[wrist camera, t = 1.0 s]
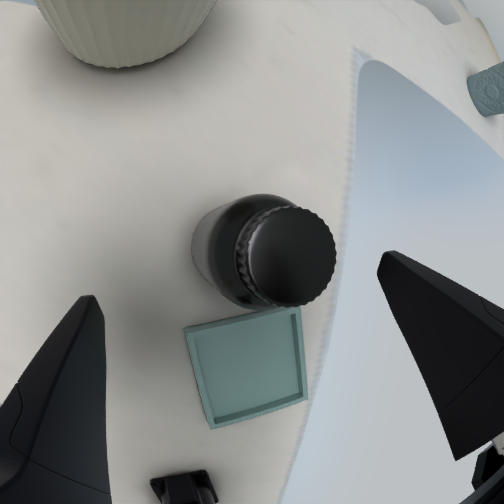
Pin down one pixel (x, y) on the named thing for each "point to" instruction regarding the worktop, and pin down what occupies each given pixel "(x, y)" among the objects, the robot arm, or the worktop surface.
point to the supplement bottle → (264, 252)
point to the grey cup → (488, 90)
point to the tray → (249, 364)
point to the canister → (123, 28)
